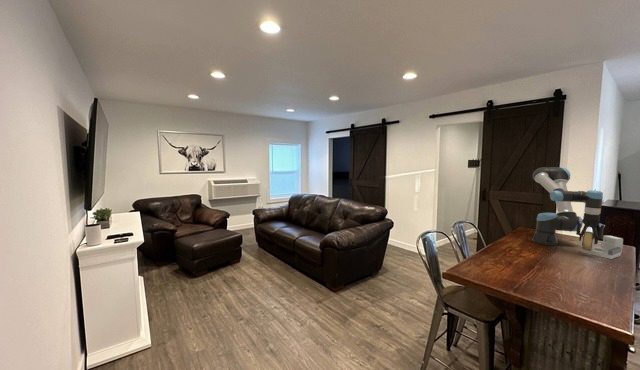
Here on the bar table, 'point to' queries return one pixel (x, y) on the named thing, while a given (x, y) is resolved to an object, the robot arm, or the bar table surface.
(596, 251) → the plate
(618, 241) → the small box
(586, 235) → the bushing
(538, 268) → the bar table surface
